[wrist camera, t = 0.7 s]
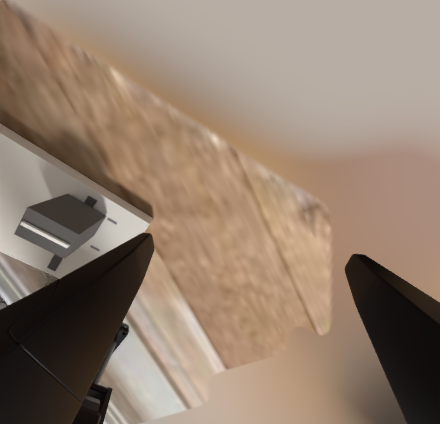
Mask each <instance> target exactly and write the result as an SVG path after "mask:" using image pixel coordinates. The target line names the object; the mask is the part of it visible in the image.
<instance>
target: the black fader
mask: <svg viewBox="0 0 440 424" xmlns="http://www.w3.org/2000/svg"><path fill="white" fill-rule="evenodd" d="M105 218H106V215H104V214H102V213H101V212H99V211H97V210H96V209H94V208H92V207H90V206H89V205H87V204H85V203H84V202H82V201H80V200H78V199H77V198H75V197H73V196H72V195H70V194H65V195H62V196H59V197H56V198H53V199H50V200H47V201H44V202H41V203H38V204H35V205H32V206H29V207H27V209H26V211H25V213H24V215H23V217H22V219H21V221H20V223H19V225H18V227H17V229H16V231H15V233H14V234H15V235H17V236H19V237H21V238H23V239H25V240H27V241H29V242H31V243H33V244H35V245H37V246H39V247H41V248H43V249H45V250H47V251H49V252H51V253H53V254H55V255H57V256H60V257H62V258H64V259H65V258H67V257H68V256H69V255H70V254H72V253H73V252H74V251H75V250H77V249H78V248H79V247H80V246H82V245H83V244H84V243H86V242H87V241H88V240H89V239H91V238H92V237H93V236H94V235H95V234H96V232H97V230H98V229H99V227H100V226H101V224H102V222H103V221H104V219H105Z"/></svg>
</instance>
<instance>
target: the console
mask: <svg viewBox="0 0 440 424" xmlns="http://www.w3.org/2000/svg"><path fill="white" fill-rule="evenodd" d="M65 194H70V195H72V196H73V197H75V198H77V199H78V200H80V201H82V202H84V203H85V204H87V205H89V206H90V207H92V208H94V209H96V210H97V211H99V212H101V213H102V214H104V215H106V218H105V219H104V221H103V222H102V224H101V226H100V227H99V229H98V230H97V232H96V234H95V235H94V236H93V237H92V238H91V239H89V240H88V241H87V242H86V243H84V244H83V245H82V246H80V247H79V248H78V249H77V250H75V251H74V252H73V253H72V254H70V255H69V256H68V257H67V258H65V259H64V258H62V257H60V256H57V255H55V254H53V253H51V252H49V251H47V250H45V249H43V248H41V247H39V246H37V245H35V244H33V243H31V242H29V241H27V240H25V239H23V238H21V237H19V236H17V235H15V234H14V233H15V231H16V229H17V227H18V225H19V223H20V221H21V219H22V217H23V215H24V213H25V211H26V209H27V207H29V206H32V205H35V204H38V203H41V202H44V201H47V200H50V199H53V198H56V197H59V196H62V195H65ZM152 220H153V218H152V217H150V216H148V215H147V214H145V213H144V212H142V211H140V210H139V209H137V208H136V207H134V206H132V205H131V204H129V203H127V202H126V201H124V200H123V199H121V198H119V197H118V196H116V195H115V194H113V193H111V192H110V191H108V190H107V189H105V188H103V187H102V186H100V185H99V184H97V183H95V182H94V181H92V180H90V179H89V178H87V177H86V176H84V175H82V174H81V173H79V172H78V171H76V170H74V169H73V168H71V167H70V166H68V165H66V164H65V163H63V162H61V161H60V160H58V159H57V158H55V157H53V156H52V155H50V154H49V153H47V152H45V151H44V150H42V149H41V148H39V147H37V146H36V145H34V144H32V143H31V142H29V141H28V140H26V139H24V138H23V137H21V136H20V135H18V134H16V133H15V132H13V131H12V130H10V129H8V128H7V127H5V126H3V125H2V124H0V252H2V253H4V254H7V255H9V256H11V257H13V258H15V259H17V260H20V261H22V262H24V263H26V264H28V265H31V266H33V267H35V268H37V269H39V270H41V271H44V272H46V273H48V274H50V275H52V276H54V277H57V278H59V279H61V277H63V276H65V275H67V274H69V273H70V272H72V271H74V270H76V269H78V268H79V267H81V266H83V265H85V264H87V263H89V262H90V261H92V260H94V259H96V258H98V257H99V256H101V255H103V254H105V253H107V252H108V251H110V250H112V249H114V248H116V247H117V246H119V245H121V244H123V243H125V242H126V241H128V240H130V239H132V238H134V237H135V236H137V235H139V234H141V233H144V232H145V230H146V229H147V227H148V226H149V224H150V223H151V222H152Z"/></svg>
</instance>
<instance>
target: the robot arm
mask: <svg viewBox="0 0 440 424" xmlns="http://www.w3.org/2000/svg"><path fill="white" fill-rule="evenodd" d="M153 252H154V243H153V238H152V235H151V234H150V233H141V234H139V235H137V236H135V237H134V238H132V239H130V240H128V241H126V242H125V243H123V244H121V245H119V246H117V247H116V248H114V249H112V250H110V251H108V252H107V253H105V254H103V255H101V256H99V257H98V258H96V259H94V260H92V261H90V262H89V263H87V264H85V265H83V266H81V267H79V268H78V269H76V270H74V271H72V272H70V273H69V274H67V275H65V276H63V277H61V279H58V280H56V281H54V282H52V283H51V284H49V285H47V286H45V287H43V288H41V289H40V290H38V291H36V292H34V293H32V294H30V295H28V296H26V297H24V298H22V299H20V300H18V301H16V302H14V303H12V304H10V305H8V306H6V307H4V308H2V309H0V424H103V422H104V418H105V414H106V411H107V407H108V403H109V400H110V396H111V392H112V388H110V387H108V388H107V387H104V386H101V385H98V383H99V381H100V379H101V377H102V375H103V372H104V370H105V368H106V366H107V364H108V361H109V359H110V357H111V355H112V353H113V352H114V351H115V350H116V348H117V347H118V346H119V345H120V343H121V342H122V341H123V340H124V338H125V337H126V336H127V334H128V332H129V330H128V329H126V328H124V327H121V324H122V322H123V320H124V318H125V316H126V314H127V312H128V310H129V308H130V306H131V304H132V302H133V300H134V298H135V296H136V294H137V292H138V290H139V288H140V286H141V284H142V281H143V279H144V277H145V274H146V271H147V269H148V266H149V263H150V260H151V258H152V255H153ZM345 273H346V277H347V280H348V283H349V286H350V289H351V292H352V296H353V299H354V302H355V305H356V307H357V310H358V312H359V315H360V317H361V319H362V321H363V324H364V326H365V328H366V331H367V333H368V335H369V338H370V340H371V342H372V344H373V347H374V349H375V352H376V354H377V356H378V358H379V361H380V363H381V365H382V368H383V370H384V372H385V375H386V377H387V379H388V381H389V384H390V386H391V388H392V391H393V393H394V395H395V398H396V400H397V402H398V405H399V407H400V409H401V411H402V414H403V416H404V419H405V421H406V423H407V424H440V302H438V301H436V300H435V299H433V298H432V297H430V296H429V295H427V294H425V293H424V292H422V291H420V290H419V289H417V288H416V287H414V286H413V285H411V284H410V283H408V282H407V281H405V280H403V279H401V278H400V277H399V276H397V275H395V274H394V273H392V272H391V271H389V270H388V269H386V268H385V267H383V266H381V265H380V264H378V263H377V262H375V261H374V260H372V259H370V258H369V257H367V256H366V255H363V254H353V255H352V256H351V257H350V259H349V261H348V263H347V265H346V266H345Z"/></svg>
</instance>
